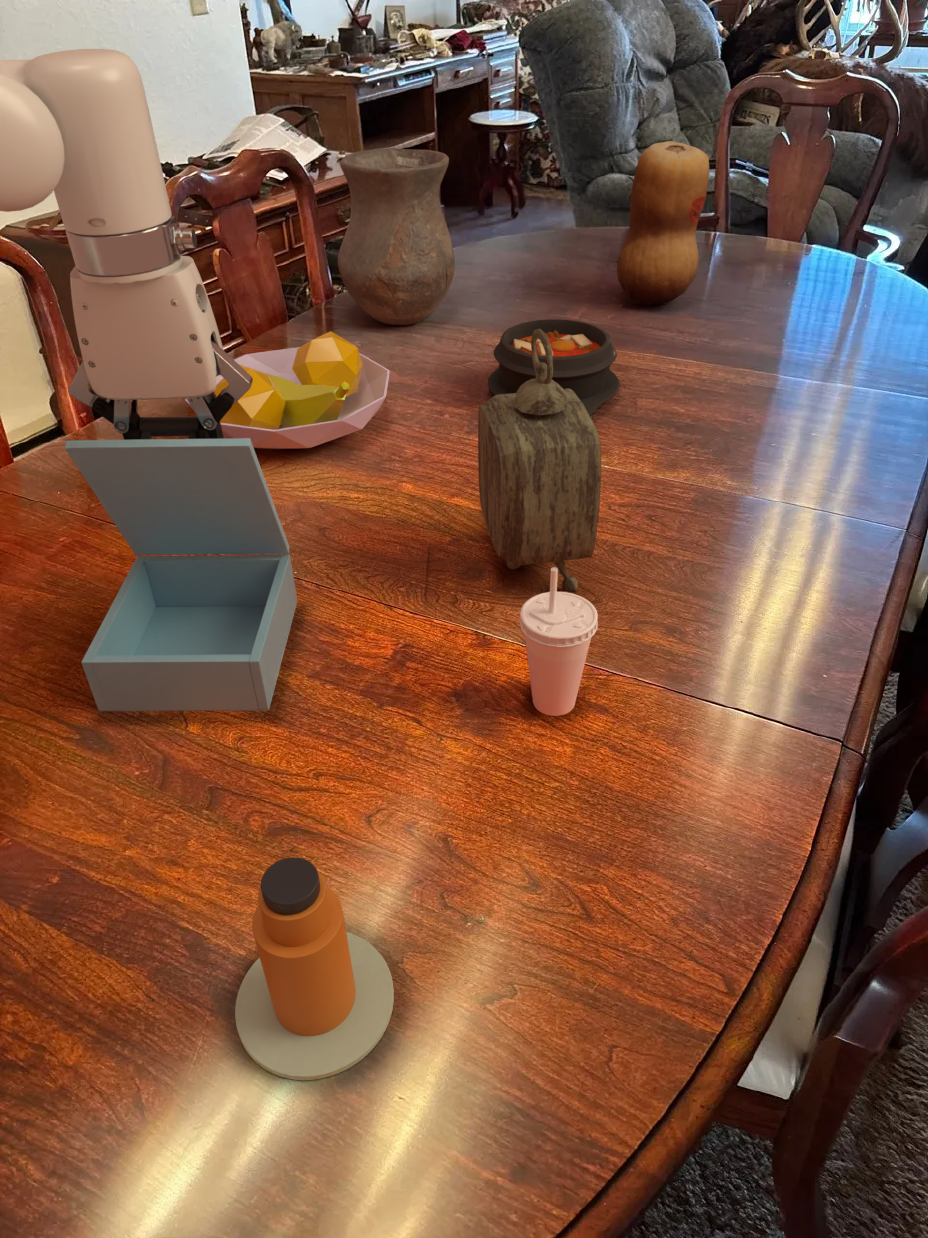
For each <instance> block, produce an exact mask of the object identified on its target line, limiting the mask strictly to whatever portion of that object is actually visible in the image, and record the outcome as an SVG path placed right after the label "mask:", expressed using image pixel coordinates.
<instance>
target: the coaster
mask: <svg viewBox="0 0 928 1238" xmlns="http://www.w3.org/2000/svg"><path fill="white" fill-rule="evenodd" d="M346 934H347V940H348V946H349V952H350V958H351V964H352V970H353V976H354V982H355V989H356V996H355V1002H354V1005H353V1007H352V1010H351V1012H350V1013H349V1015H348V1016H347V1017H346V1019H345V1020H344V1021H343V1022H342V1023H341V1024H340V1025H338V1026H337V1027H336V1028H334V1029H333V1030H331V1031H329V1032H326V1033H324V1034H321V1035H316V1036H302V1035H298V1034H295V1033H292V1032H291V1031H289V1030H287V1029H286V1028H284V1027H283V1026H282V1025H281V1023H280V1022H279V1021H278V1019H277V1017H276V1015H275V1012H274V1008H273V1004H272V1001H271V997H270V993H269V990H268V986H267V982H266V979H265V975H264V971H263V968H262V964H261V960H260V957H259V956H258V958H257V959H256V960H255V961H254V962H253V964H252V965H251V966H250V968H249V969H248V971H247V972H246V974H245V976H244V977H243V979H242V981H241V983H240V986H239V989H238V992H237V995H236V1000H235V1006H234V1008H235V1009H234V1019H235V1026H236V1030H237V1035H238V1037H239V1039H240V1042H241V1044H242V1046H243V1048H244V1050H245V1051H246V1053H247V1054H248V1056H249V1057H250V1058H251V1059H252V1060H253V1061H254V1063H256V1064H257V1065H258V1066H259V1067H261V1068H263V1069H264V1070H265V1071H267V1072H269V1073H271V1074H272V1075H275V1076H278V1077H280V1078H283V1079H284V1078H285V1079H289V1080H295V1081H313V1080H314V1081H315V1080H320V1079H325V1078H329V1077H332V1076H335V1075H338V1074H340V1073H342V1072H344V1071H347V1070H349V1069H350V1068H351V1067H353V1066H355V1065H357V1064H358V1063H359V1062H360V1061H362V1060H363V1059H364V1058H365V1057H366V1056H368V1054H369V1053H370V1052H371V1051H372V1050H373V1049H375V1047H376V1046H377V1044H378V1043H379V1041H380V1040H381V1039H382V1037H383V1036H384V1034H385V1032H386V1031H387V1028H388V1025H389V1024H390V1021H391V1017H392V1013H393V1010H394V1003H395V989H394V983H393V977H392V973H391V971H390V968H389V965H388V963H387V962H386V960H385V958H384V957H383V955H382V954H381V953H380V952H379V950H378V949H377V948H376V947H375V946H373V945H372V943H370V942H369V941H367V940H365V939H364V938H363V937H361V936H358V935H356V934H354V933H351V932H348V931H346Z"/></svg>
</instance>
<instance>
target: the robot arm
mask: <svg viewBox="0 0 928 1238" xmlns="http://www.w3.org/2000/svg"><path fill="white" fill-rule="evenodd" d="M152 122H153V121H152V118H151V113H150V109H149V105H148V100H147V96H146V91H145V86H144V83H143V79H142V76H141V73H140V70H139V67H138V66H137V64H136V63H135V61H134V60H133V59H132V58H131V57H130V56H128V55H127V54H125V53H124V52H122V51H119V50H115V49H106V48H80V49H69V50H60V51H54V52H48V53H45V54H41V55H37V56H35V57H33V58H32V59H0V212H5V213H6V212H7V213H10V212H19V211H24V210H28V209H30V208H34V207H35V206H37V205H39V204H41V203H43V202H44V201H45V200H46V199H48V197H49V196H50V195H52V194H53V193H54V197H55V200H56V204H57V207H58V210H59V213H60V217H61V220H62V224H63V227H64V230H65V234H66V237H67V241H68V245H69V249H70V251H71V255H72V259H73V262H74V265H75V266H74V267H73V268H72V270H71V271H70V273H69V281H70V283H69V284H70V293H71V294H70V295H71V303H72V311H73V319H74V324H75V330H76V335H77V336H76V337H77V339H78V345H79V350H80V353H81V358H82V362H81V363H80V365H79V367H78V369H77V371H76V373H75V375H74V377H73V378H72V380H71V382H70V384H69V385H68V388H67V393H68V394H69V395H70V397H72V398H74V399H76V400H77V401H78V402H80V403H82V404H84V405H85V406H87V407H91V408H92V410H93V411H94V412H95V413H97V414H98V415H99V416H100V417H102V418H104V419H105V420H106V421H108V422H109V423H111V424H112V425H113V428H114V430H115V431H116V432H117V433H120V434H121V435H122V437H123V440H140V437H141V433H140V429H139V421H140V418H142V417H143V416H141V415H140V414H139V400H141V401H142V400H170V399H173V400H174V399H186V398H187V400H188V401H189V403H190V405H191V407H192V408H191V407H190V408H191V410H192V411H193V412H194V414H195V417H198V419H199V421H200V428H199V430H198V439H225V438H224V437H223V432H222V428H221V423H220V420H221V419H222V418H223V417H224V416H225V414H226V413H227V412H228V411H229V410H230V408H231V407H232V405H233V404H234V403H235V402H236V401H238V400H239V399H240V398H241V397H242V396H243V395H244V394H245V393H246V392H247V391H248V390H249V389H250V387H251V385H252V383H253V378H252V377H251V375H250V374H249V373H247V372H246V371H245V370H244V369H243V368H242V367H241V366H240V365H239V364H238V363H237V362H235V361H234V359H233V358H232V357H231V356H230V355H229V354H228V353H227V351H225V350H224V348H223V346H224V345H223V343H222V339H221V336H220V335H221V334H220V331H219V329H218V325H217V321H216V318H215V315H214V311H213V308H212V306H211V305H212V304H211V302H210V299H209V296H208V293H207V290H206V287H205V284H204V282H203V280H202V277H201V274H200V272H199V270H198V267H197V265H196V263H195V261H194V258H193V257H191V256H189V255H182V253H183V252H184V251H187V250H188V249H197V247H198V237H197V234H196V230H195V229H194V228H185V227H184V226H180V225H179V223H178V222H177V219H176V215H173V214H172V213H173V212H172V209H171V204H170V200H169V195H168V191H167V185H166V181H165V177H164V173H163V167H162V163H161V158H160V154H159V150H158V149H159V148H158V145H157V141H156V136H155V132H154V127H153V123H152ZM218 375H221V376H222V377H223V378H225V379H226V380H227V381H228V383H229V385H228V386H227V387H226V388H224V389H223V390H222V391H221V392H220V394H219V395H218V396H216V395H215V393H214V391H215V389H216V376H218Z"/></svg>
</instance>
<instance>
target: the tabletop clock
mask: <svg viewBox="0 0 928 1238" xmlns="http://www.w3.org/2000/svg"><path fill="white" fill-rule="evenodd" d="M537 338H539V339H540V341H541V343H542V345H543V347H544V350H545V354H546V359H547V365H548V376H547V365H546V364H545V363H542V362H541V363H539V360H538V356H537V352H536V341H537ZM531 349H532V361H533V365H534V369H535V372H536V379H531V380H529V381H527V382H525V383H524V384H522V385H521V386H520V387H519V389H518V390H517V393H512V394H501V395H494V396H492V397H490V398H489V399H488V400H487V401H485V402H484V403H482V404H480V406H478V418H477V428H478V429H477V442H478V443H477V448H478V449H477V459H478V461H477V462H478V464H477V465H478V491H479V492H478V493H479V504H480V509H481V513H482V517H483V519H484V522H485V526H486V529H487V532H488V536H489V538H490V540H491V543H492V546H493V548H494V550H495V553H496V555H497V556H498V557H499V558H501V559H504V560H505V564H506V566H507V568H508V569H510V570H513V571H514V570H518V569H519V568H520V566H528V565H536V564H545V563H553V564H554V565H555V567H556V568H558V572H559V573H560V574H561V576H562V577H563V580H562V585H561V586H562V587H561V588H562V590H563V591H564V592H568V593H574V592H576V591H577V590H578V588H579V581H578V580H577V578H575V577H574V576H570V574H569V572H568V569H567V566H566V564H565V561H572V560H573V561H574V560H581V559H591V558H593V554H594V552H595V548H596V541H597V535H598V524H599V518H600V517H599V515H600V505H601V504H600V503H601V487H602V484H601V483H602V444H601V440H600V437H599V436H600V435H599V433H598V430H597V428H596V425H595V423H594V420H593V419H592V417H591V415H590V416H589V414H588V412H587V410H586V408H585V406H584V404H583V403H582V402H581V401H580V399H579V398H578V397H577V395H576V394H575V393H574V392H573V390H571V389H563V388H562V387H561V386H560V385H559V384H558V383H556V382H555V381H553V380H552V376H553V357H552V350H551V346H550V342H549V340H548V338H547V336H546V334H545V333H544V332H543V331H542V330H541V329H536V330H535V331H534V332H533V334H532V343H531Z"/></svg>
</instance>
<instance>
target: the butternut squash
mask: <svg viewBox="0 0 928 1238" xmlns="http://www.w3.org/2000/svg"><path fill="white" fill-rule="evenodd" d="M709 177H710V161H709V155H708V154H707V153H706V152H704V151H703V150H701V149H700V148H697V147H695V146H691V145H689V144H686V143H683V142H677V141H672V140H669V141H664V142H656V143H653V144H651V145H650V146H648V147H647V148H645V149H644V150H643V151H642V153H641V154H640V156H639V159H638V161H637V164H636V167H635V172H634V177H633V181H632V184H631V190H630V191H631V192H630V198H629V201H630V203H629V225H628V226H629V227H628V233H627V236H626V238H625V240H624V242H623V245H622V247H621V250H620V252H619V255H618V257H617V260H616V274H617V281H618V283H619V285H620V287H621V289H622V291H623V293H624V294H626V296H627V297H628V298H629V299H630V300H631V301H632V302H634V303H636V304H637V305H641V306H642V305H643V306H647V305H652V306H653V305H654V306H661V305H666V304H668V303H670V302H673V300H675V299H677V298H678V297H680V296H682V295H684V294H685V293H686V292H687V290H688V288H689V287H690V285H691V284H692V283H693V281H695V279H696V277H697V273H698V268H699V267H698V266H699V256H700V255H699V250H698V245H697V244H698V243H697V238H696V237H697V236H696V233H697V229H698V224H699V220H700V217H701V215H702V211H703V208H704V205H705V201H706V198H707V192H708V187H709Z"/></svg>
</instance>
